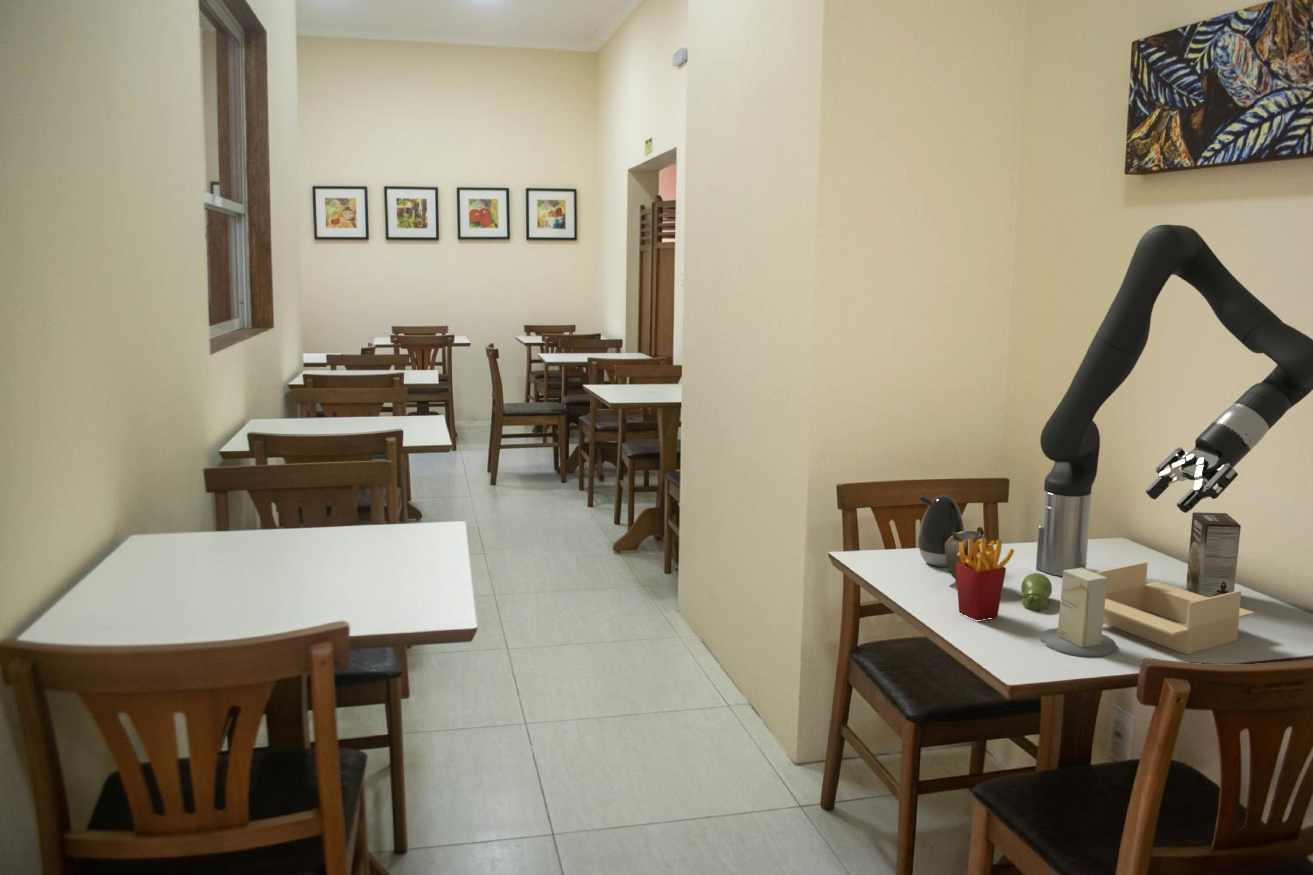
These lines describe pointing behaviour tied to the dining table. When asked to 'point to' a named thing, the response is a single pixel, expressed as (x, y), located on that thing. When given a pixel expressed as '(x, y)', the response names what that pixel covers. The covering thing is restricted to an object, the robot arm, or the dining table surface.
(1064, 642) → the coaster
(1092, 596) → the skincare box
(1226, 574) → the coffee box
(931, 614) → the dining table surface
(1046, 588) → the pear
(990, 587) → the french fries
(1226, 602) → the carton
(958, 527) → the dark grey rounded figure
